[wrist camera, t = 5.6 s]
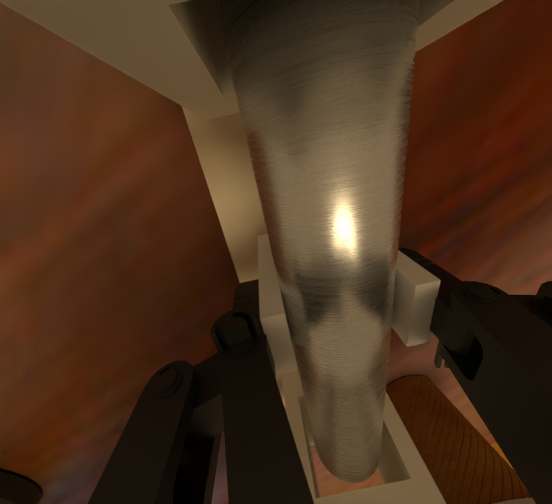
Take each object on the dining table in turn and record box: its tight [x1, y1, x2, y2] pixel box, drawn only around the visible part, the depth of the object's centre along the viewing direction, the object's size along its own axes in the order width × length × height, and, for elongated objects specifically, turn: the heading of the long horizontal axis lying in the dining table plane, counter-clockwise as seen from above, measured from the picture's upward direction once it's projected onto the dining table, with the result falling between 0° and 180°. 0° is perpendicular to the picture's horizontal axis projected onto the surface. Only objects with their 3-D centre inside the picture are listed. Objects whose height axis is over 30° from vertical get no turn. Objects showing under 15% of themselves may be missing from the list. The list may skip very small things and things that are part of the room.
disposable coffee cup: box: [386, 375, 536, 504], centre depth 20 cm, size 10×10×12 cm
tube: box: [214, 0, 420, 483], centre depth 8 cm, size 24×4×4 cm, turn 11°
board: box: [182, 106, 285, 407], centre depth 16 cm, size 37×10×1 cm, turn 11°
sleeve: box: [281, 358, 446, 504], centre depth 17 cm, size 8×7×11 cm
